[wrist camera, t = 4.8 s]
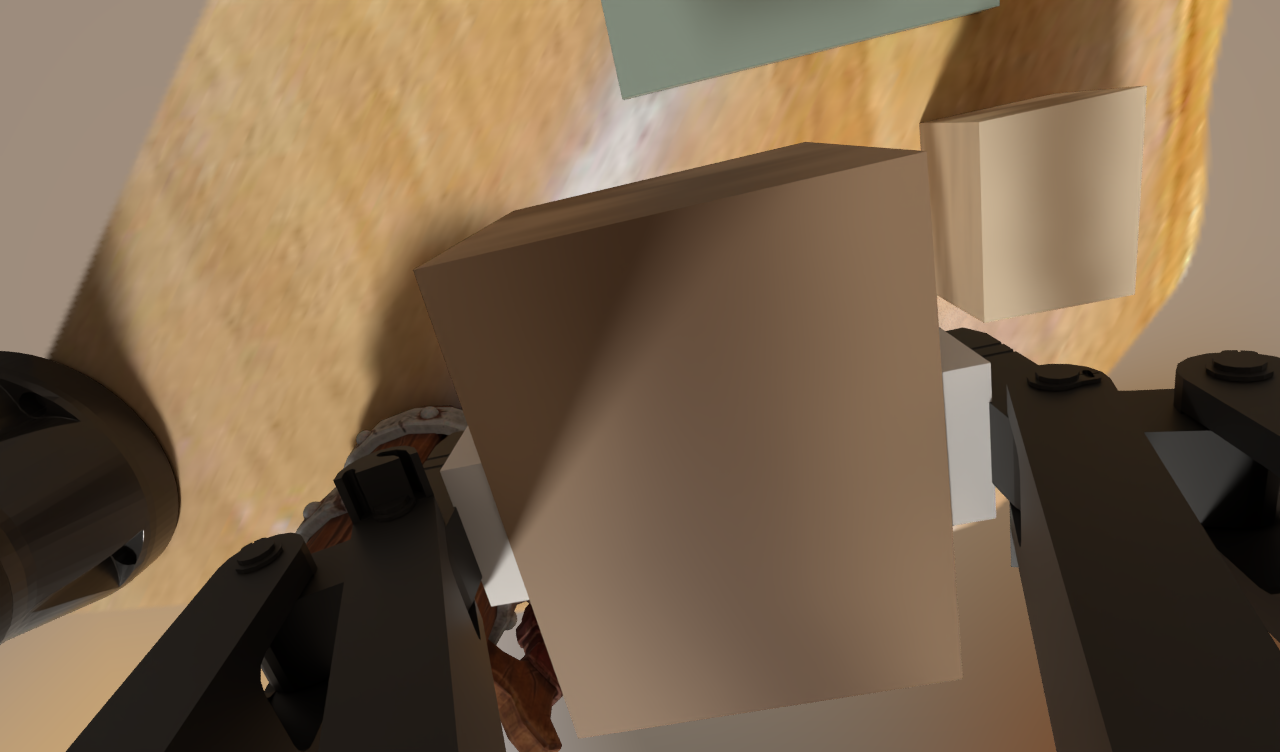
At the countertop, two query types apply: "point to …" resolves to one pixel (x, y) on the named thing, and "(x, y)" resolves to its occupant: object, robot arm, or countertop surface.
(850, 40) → the baseplate
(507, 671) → the mug
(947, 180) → the maple cap block
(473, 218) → the countertop surface
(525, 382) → the walnut brick
